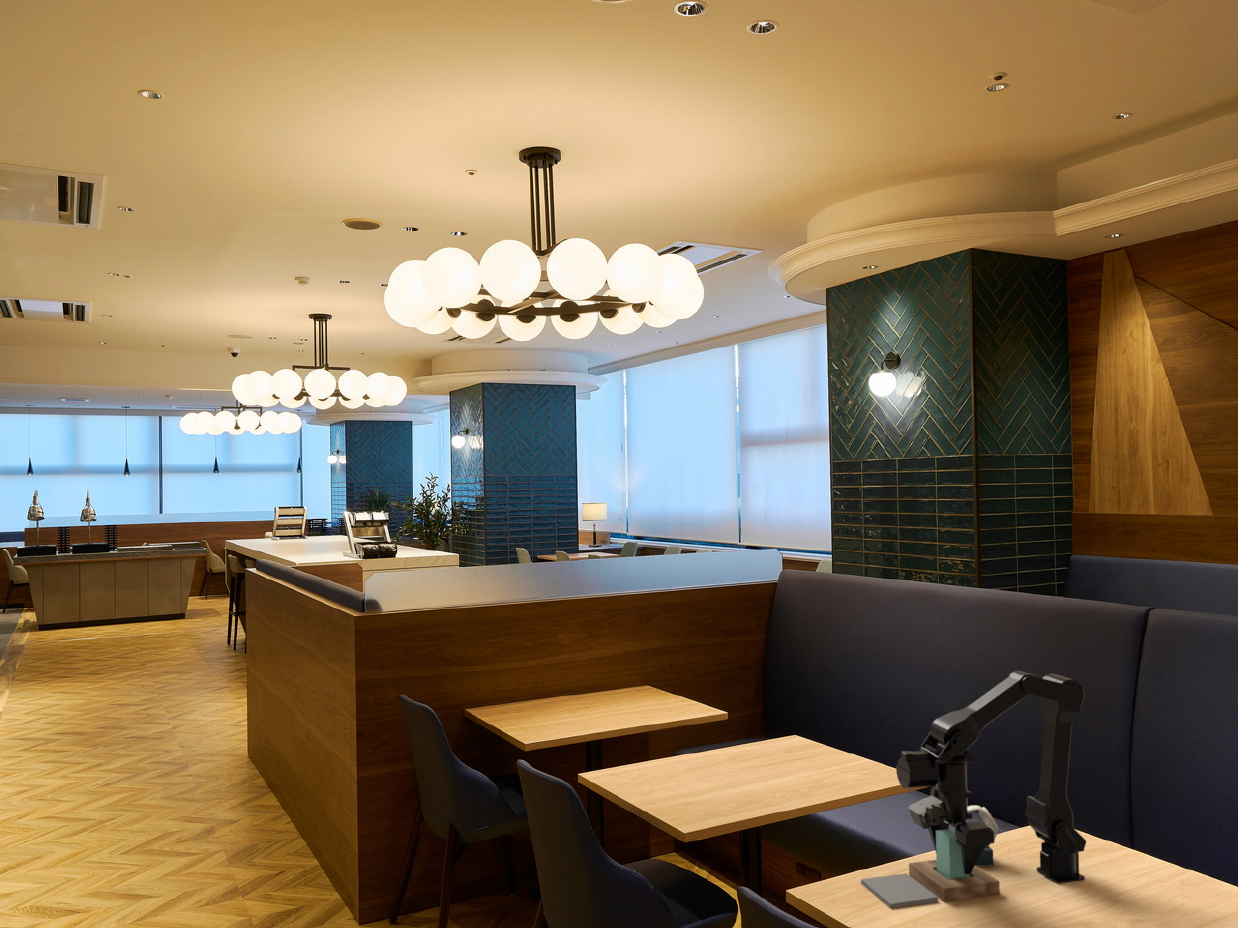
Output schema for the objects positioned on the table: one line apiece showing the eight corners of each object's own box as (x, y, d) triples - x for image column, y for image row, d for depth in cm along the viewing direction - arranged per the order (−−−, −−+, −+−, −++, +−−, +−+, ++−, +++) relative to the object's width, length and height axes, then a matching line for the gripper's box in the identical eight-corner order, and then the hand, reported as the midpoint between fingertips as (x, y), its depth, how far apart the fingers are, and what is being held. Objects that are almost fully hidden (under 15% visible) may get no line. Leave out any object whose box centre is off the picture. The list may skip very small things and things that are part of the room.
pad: (906, 877, 184) (906, 873, 184) (938, 901, 173) (937, 896, 173) (860, 883, 181) (860, 879, 181) (890, 907, 171) (890, 903, 171)
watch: (1003, 865, 189) (1001, 811, 189) (963, 865, 189) (962, 811, 189) (992, 854, 194) (991, 802, 195) (954, 854, 195) (953, 802, 195)
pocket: (961, 868, 187) (961, 856, 187) (999, 894, 176) (999, 880, 176) (909, 875, 184) (909, 863, 185) (944, 901, 173) (944, 888, 173)
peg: (956, 878, 183) (955, 828, 183) (970, 888, 178) (968, 836, 179) (936, 881, 182) (935, 830, 182) (950, 890, 177) (949, 838, 178)
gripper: (889, 773, 188) (891, 850, 187) (943, 804, 170) (944, 889, 169) (937, 768, 190) (939, 844, 190) (995, 798, 172) (997, 882, 172)
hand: (953, 864), depth 180 cm, fingers open, 9 cm apart
